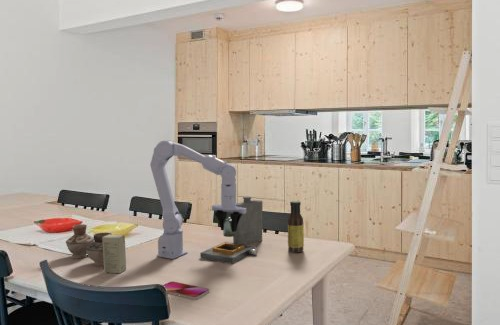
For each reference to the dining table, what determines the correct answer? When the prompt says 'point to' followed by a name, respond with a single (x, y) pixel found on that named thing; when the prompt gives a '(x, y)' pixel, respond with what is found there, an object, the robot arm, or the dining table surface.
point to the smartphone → (185, 290)
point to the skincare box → (114, 253)
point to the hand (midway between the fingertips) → (228, 230)
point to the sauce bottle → (295, 228)
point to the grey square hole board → (228, 252)
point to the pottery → (86, 244)
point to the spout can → (228, 228)
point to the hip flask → (249, 222)
